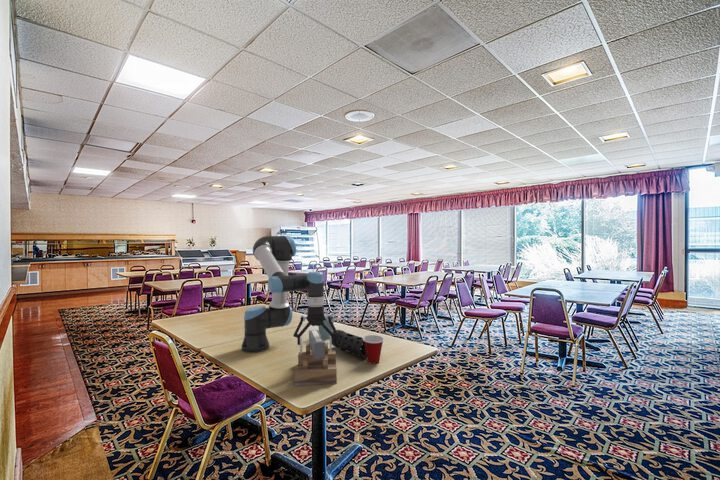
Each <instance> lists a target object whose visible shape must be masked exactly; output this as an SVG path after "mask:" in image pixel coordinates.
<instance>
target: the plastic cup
mask: <svg viewBox="0 0 720 480" xmlns="http://www.w3.org/2000/svg"><path fill="white" fill-rule="evenodd" d="M362 338H363V341H364V345H365V350H366V355H367V358H366V360H367V363H369V364H379V363H380V360H381V355H382V354H381V353H382V347H383V342H384V340H385V337H383V336H381V335H376V334H368V335H365V336H363V337H362Z"/></svg>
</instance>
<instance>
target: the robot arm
mask: <svg viewBox="0 0 720 480" xmlns="http://www.w3.org/2000/svg"><path fill="white" fill-rule="evenodd" d="M296 254H297V245H296V242H295V239H294V238H293V237H292V236H290V235H289V236H288V235H265V236H261V237H259V238H258V239H257V240H256V241H255V243H254V244H253V247H252V255H253V256H254V258H255V259H256V261H259V263H260V264H261V267H262V269H263V271H264V272H265V274H266V276H267V277H268V279H267V288H268V289H267V290H268V291H269V292H270V293H271V302H270V303H269V304H268V307H266V306H265V305H256V306H252V307H248V308H247V309H245V311H244V316H243V317H244V318H243V320H244V323H243V324H244V325H243V326H244V328H243V329H244V337H243V341H242V344H241V345H240V346H241V351H242V352H243V353H260V352H264V351H267V350H269V349H270V342H269V339H268V336H267V329H274V328H282V327H285V326H288V325H289V324H291V322H292V319H293V308H292V306H291V305H290V303H289V301H288V292H300V291H307V293H306V294H307V305H308V306H307V316H303V315H301V316H300V321H299V322H298V325H297V327H296V329H295V330H294V333H293V338H297V346H299V352H300V353H302V352H303V335H304V333H305V332H306V331H307V329H309V327H311V326H312V327H319V325H321V326H322V327H323V328H324V329H325V330H326V331H327V332H328V333H329V334H330V335H331V336H330V340H329V351H330V352H332V351H333V350H332V348H333V347H332V346H333V345H332V344H334V336H337V335H338V332H337V330H338V329H337V328H336V326H335V323H333V322H332V320H331V315H330V314H328V315H325V306H324V305H325V294H324V293H325V291H324V290H325V289H324V288H325V283H324V282H325V279H324V272H322V271H309V272H308V273H300V274H293V275H292V274H291V275H290V274H289V268H290V262H291V261H292V260H293V257H294V256H296ZM324 319H326V320H327V321H329V324H330V325H331V327H332V329H333V331H334V333H333V332H332V331H331V330H330V329H329V328H328V327H327V326H326V324H325V323H324V322H323V321H324ZM305 320H306V321H307V323H306V325H305V326H304V327H303V328H302V329H301V331H299V330H300V328H301V327H302V325H303V323H304V322H305Z"/></svg>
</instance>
